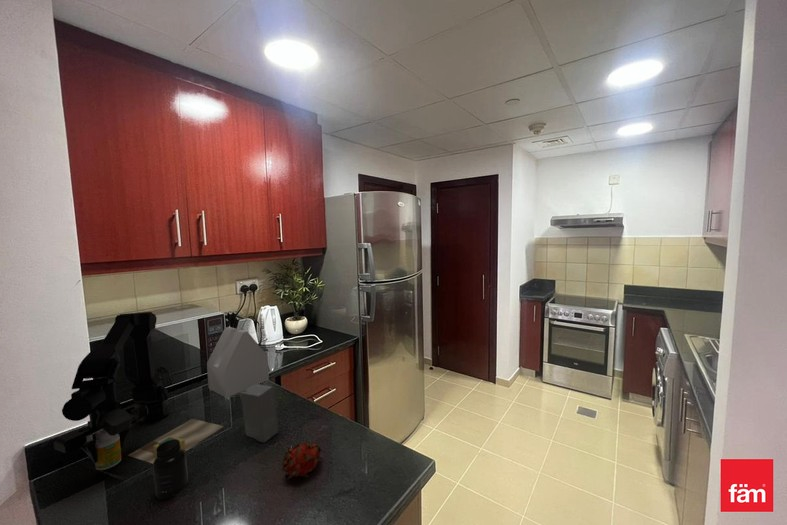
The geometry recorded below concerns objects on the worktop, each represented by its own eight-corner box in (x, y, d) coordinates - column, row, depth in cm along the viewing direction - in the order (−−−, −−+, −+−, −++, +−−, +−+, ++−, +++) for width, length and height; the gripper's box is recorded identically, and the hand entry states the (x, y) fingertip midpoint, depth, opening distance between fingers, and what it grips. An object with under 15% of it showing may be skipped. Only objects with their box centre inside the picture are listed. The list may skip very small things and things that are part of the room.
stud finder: (154, 455, 91) (153, 443, 91) (171, 445, 96) (170, 433, 96) (168, 460, 89) (167, 447, 89) (185, 449, 94) (184, 437, 93)
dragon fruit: (278, 491, 80) (317, 471, 89) (295, 484, 76) (334, 463, 85) (270, 456, 83) (308, 439, 92) (286, 446, 79) (324, 430, 88)
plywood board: (121, 456, 93) (121, 453, 93) (186, 420, 112) (186, 417, 111) (169, 472, 85) (169, 469, 85) (230, 430, 104) (230, 427, 104)
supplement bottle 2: (166, 481, 82) (163, 437, 82) (193, 478, 83) (190, 435, 82) (148, 502, 76) (144, 455, 75) (178, 499, 76) (174, 452, 75)
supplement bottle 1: (105, 472, 83) (102, 437, 83) (90, 469, 85) (86, 435, 84) (126, 458, 89) (123, 425, 88) (111, 456, 90) (108, 423, 89)
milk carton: (250, 373, 152) (247, 322, 150) (268, 380, 143) (265, 326, 141) (208, 388, 136) (204, 332, 135) (226, 398, 127) (222, 338, 126)
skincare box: (279, 432, 102) (276, 385, 101) (261, 445, 96) (258, 395, 95) (260, 426, 106) (257, 381, 105) (242, 439, 99) (239, 390, 98)
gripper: (75, 425, 74) (81, 487, 75) (158, 389, 91) (162, 440, 92) (49, 417, 78) (56, 476, 79) (134, 384, 95) (138, 433, 96)
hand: (108, 455), depth 86 cm, fingers closed on supplement bottle 1, 5 cm apart
